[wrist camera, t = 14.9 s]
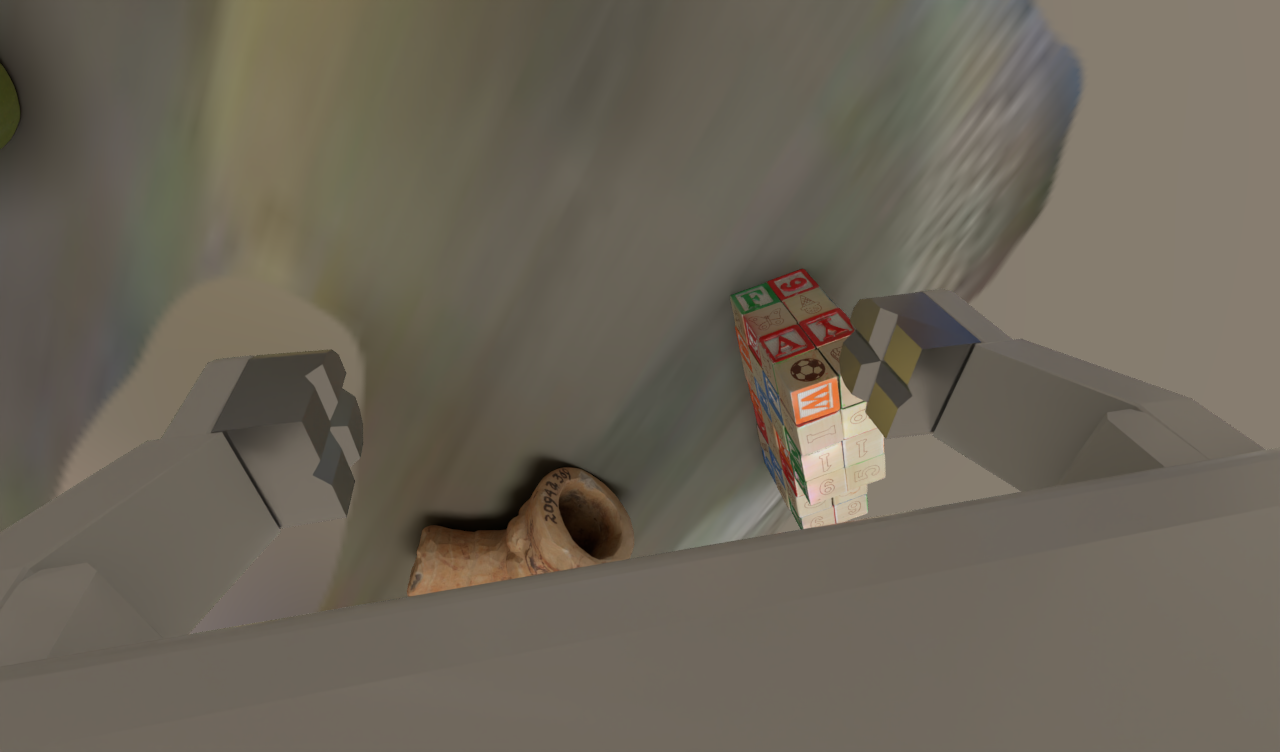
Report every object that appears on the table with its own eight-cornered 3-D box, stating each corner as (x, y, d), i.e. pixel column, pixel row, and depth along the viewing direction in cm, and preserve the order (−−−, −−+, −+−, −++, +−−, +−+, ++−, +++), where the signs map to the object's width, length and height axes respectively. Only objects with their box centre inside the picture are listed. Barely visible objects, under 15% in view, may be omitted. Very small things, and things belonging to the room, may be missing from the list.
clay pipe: (594, 515, 64) (643, 454, 53) (604, 617, 58) (660, 573, 47) (412, 515, 57) (423, 444, 46) (402, 630, 51) (412, 582, 40)
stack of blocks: (821, 441, 58) (886, 543, 49) (763, 462, 59) (817, 567, 49) (803, 265, 45) (888, 359, 35) (726, 293, 45) (791, 394, 35)
